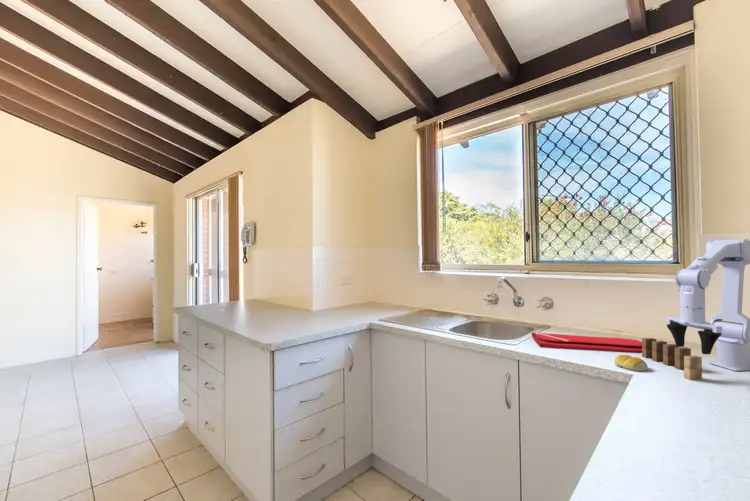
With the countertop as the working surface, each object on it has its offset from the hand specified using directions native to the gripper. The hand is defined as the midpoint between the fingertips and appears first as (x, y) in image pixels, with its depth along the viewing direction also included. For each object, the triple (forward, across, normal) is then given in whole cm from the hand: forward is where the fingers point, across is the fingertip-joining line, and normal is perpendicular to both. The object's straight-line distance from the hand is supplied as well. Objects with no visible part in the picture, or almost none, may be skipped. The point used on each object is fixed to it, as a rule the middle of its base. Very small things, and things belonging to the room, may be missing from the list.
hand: (692, 350), depth 103 cm
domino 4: (+9, -8, +6) cm, 13 cm away
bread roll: (+9, -12, -10) cm, 18 cm away
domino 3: (+9, -12, +6) cm, 16 cm away
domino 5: (+9, 0, 0) cm, 9 cm away
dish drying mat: (+10, -38, -5) cm, 39 cm away
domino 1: (+9, -20, +6) cm, 23 cm away
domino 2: (+9, -16, +6) cm, 19 cm away
